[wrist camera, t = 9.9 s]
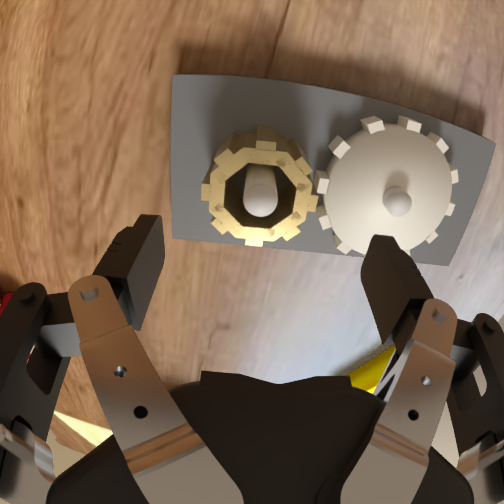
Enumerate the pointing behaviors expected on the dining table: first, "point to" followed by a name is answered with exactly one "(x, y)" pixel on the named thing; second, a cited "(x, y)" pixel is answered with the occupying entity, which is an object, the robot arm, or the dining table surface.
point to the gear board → (312, 132)
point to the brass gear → (231, 199)
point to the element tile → (371, 371)
